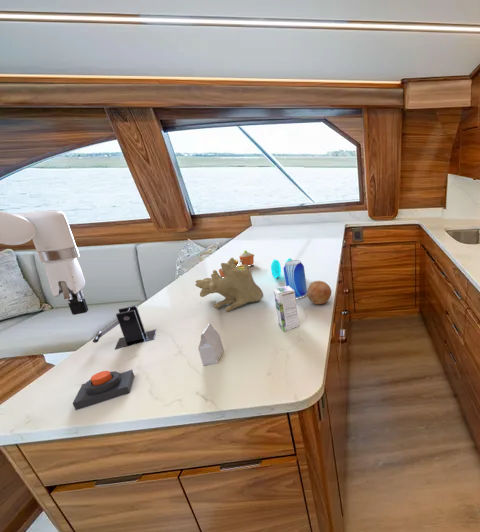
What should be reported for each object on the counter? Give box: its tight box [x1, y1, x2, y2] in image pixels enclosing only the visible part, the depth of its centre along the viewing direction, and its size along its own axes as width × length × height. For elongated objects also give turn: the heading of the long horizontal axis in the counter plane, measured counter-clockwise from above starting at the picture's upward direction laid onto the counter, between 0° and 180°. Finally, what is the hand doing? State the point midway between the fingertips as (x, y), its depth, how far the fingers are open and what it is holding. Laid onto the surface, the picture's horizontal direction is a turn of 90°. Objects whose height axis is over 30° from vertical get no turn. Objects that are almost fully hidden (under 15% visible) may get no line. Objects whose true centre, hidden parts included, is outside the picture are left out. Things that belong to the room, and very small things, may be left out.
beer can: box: [283, 259, 308, 298], centre depth 130 cm, size 8×8×16 cm
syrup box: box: [272, 285, 300, 332], centre depth 105 cm, size 6×6×14 cm
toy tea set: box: [217, 250, 255, 277], centre depth 166 cm, size 26×16×10 cm, turn 15°
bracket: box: [114, 305, 157, 350], centre depth 98 cm, size 10×8×12 cm
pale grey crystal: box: [198, 323, 224, 367], centre depth 89 cm, size 4×7×10 cm, turn 15°
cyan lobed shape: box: [270, 257, 293, 279], centre depth 155 cm, size 10×10×10 cm
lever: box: [92, 308, 131, 344], centre depth 96 cm, size 12×6×2 cm, turn 125°
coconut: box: [306, 280, 332, 305], centre depth 124 cm, size 10×10×10 cm
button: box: [90, 370, 112, 385], centre depth 76 cm, size 4×4×2 cm
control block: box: [72, 369, 135, 411], centre depth 77 cm, size 10×8×4 cm
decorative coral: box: [195, 257, 264, 313], centre depth 124 cm, size 26×22×25 cm
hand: (80, 312), depth 90 cm, fingers closed
